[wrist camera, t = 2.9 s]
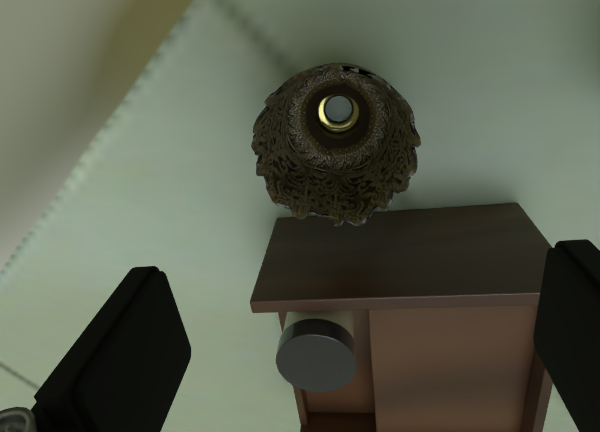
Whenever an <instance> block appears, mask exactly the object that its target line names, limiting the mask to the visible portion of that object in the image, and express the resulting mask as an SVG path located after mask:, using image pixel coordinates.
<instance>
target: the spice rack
mask: <svg viewBox="0 0 600 432" xmlns="http://www.w3.org/2000/svg"><path fill="white" fill-rule="evenodd" d="M549 248H552V246H551V245H550V244H549V243H548V241H547V240H546V239H545V237H544V236H543V235H542V233H541V232H540V231H539V230H538V228H537V227H536V226H535V224H534V223H533V222H532V220H531V219H530V218H529V217H528V215H527V214H526V213H525V211H524V210H523V209H522V208H521V206H520V205H519V204H518V203H514V204H498V205H483V206H467V207H451V208H435V209H419V210H404V211H388V212H373V214H372V216H371V217H370V218H369V219H368V220H367V222H366V223H364V224H362V225H360V226H355V225H353V224H351V223H349V222H347V221H345V220H344V222H343V223H342V225H340V226H333V224H332V221H331V220H330V219H329V217H325V216H324V217H318V216H309V217H305V218H304V219H298V218H296V217H293V218H278V219H277V220H276V223H275V226H274V229H273V232H272V235H271V238H270V241H269V244H268V247H267V250H266V253H265V257H264V260H263V263H262V266H261V269H260V272H259V275H258V278H257V281H256V284H255V287H254V290H253V294H252V297H251V300H250V305H251V309H252V312H253V313H265V312H278V313H279V318H280V323H281V328H282V333H283V329H284V324H285V319H286V314H287V312H302V311H338V310H354V337H355V343H356V350H357V368H356V372H355V375H354V377H353V378H352V379H351V381H350V382H349V383H347V384H346V385H345V386H343V387H341V388H339V389H336V390H333V391H327V392H313V391H308V390H304V389H301V388H298V387H296V386H294V385H293V388H294V393H295V398H296V403H297V408H298V413H299V418H300V423H301V429H300V432H542V431H543V426H544V422H545V417H546V412H547V408H548V403H549V399H550V394H551V390H552V385H553V381H552V380H551V378H550V376H549V374H548V372H547V370H546V368H545V366H544V365H543V363H542V361H541V359H540V357H539V355H538V353H537V351H536V349H535V346H534V341H533V334H534V328H535V322H536V316H537V309H538V303H539V297H540V291H541V285H542V279H543V273H544V267H545V261H546V255H547V251H548V249H549Z"/></svg>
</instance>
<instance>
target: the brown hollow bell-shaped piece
mask: <svg viewBox="0 0 600 432" xmlns="http://www.w3.org/2000/svg"><path fill="white" fill-rule="evenodd" d="M335 96H343V97H345V98H347V99H348V100H349V101H350V103H351V105H352V114H351V116H350V117H349V119H347V120H346V121H344V122H342V123H335V122H332V121H331V120H329V119H328V117H327V116H326V113H325V107H326V104H327V102H328V101H329V100H330V99H331V98H333V97H335ZM264 103H265V104H266V107H265V109H264V110H263V111H262V112H261V113H260V115H259V116H258V118H257V120H256V122H255V124H254V127H253V133H255V134H254V136H253V142H252V145H251V147H252V149H253V151H254V152H255V155H258V156H259V157H258V161H257V163H256V174H257V176H264V179H265V181H266V189H267V191H268V193H269V195H270V197H271V199H272V201H273V202H274V203H275V204H276V205H278V206H282V207H285V208H287V209H291V213H292V215H293V216H295V217H296V218H298V219H304V218H305V216H306V215H307V214H308V213H309V212H310V213H314V214H316V215H317V216H318V217H324V216H325V217H329V219H330V220H331V221H332V224H333V226H340V225H342V223H343V222H344V220H345V221H347V222H349V223H351V224H353V225H355V226H360V225H362V224H364V223H366V222H367V220H368V219H369V218H370V217H371V216H372V214H373V212H374V211H375V210H376V209H377V208H381V210H384V211H388V210H389V208H390V206H391V204H392V202H393V201H392V196H393V192H395V193H400V192H403V191H405V190H407V188H408V186H409V179H410V178H411V177H410V176H412V175H413V174H414V173H416V170H417V155H416V151H415V146H416V147H417V148H418V146H420V145H421V141H420V136H419V135H418V133H417V131H416V129H415V125H414V115H413V111H412V109H411V107H410V106H409V104H408V103H407V102H406V100H405V99H404V98H403V97H402V96H401V95H400V94H399V93H398V92H397V91H396V90H395V89H394V88H393V87H392V86H391V85H390V84H389V83H388V82H386V81H385V80H384V79H382V78H381V77H379V76H377V75H376V74H374V73H372V72H371V71H369V70H367V69H365V68H362V67H359V66H356V65H352V64H346V63H330V64H324V65H320V66H316V67H314V68H311V69H308V70H306V71H303V72H301V73H298V74H296V75H295V76H293V77H292V78H290V79H289V80H287V81H286V82H285V83H283V85H282V86H281V87H280V88H279V89H278V90H277V91H275V92H273V93H272V94H271V95H270V96H269V97H268V98H267V99H266V101H265V102H264Z"/></svg>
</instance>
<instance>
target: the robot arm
mask: <svg viewBox="0 0 600 432" xmlns="http://www.w3.org/2000/svg"><path fill="white" fill-rule="evenodd" d="M533 341H534V346H535V349H536V351H537V353H538V355H539V357H540V359H541V361H542V363H543V365H544V366H545V368H546V370H547V372H548V374H549V376H550V378H551V380H552V381H553V383H554V385H555V387H556V389H557V391H558V393H559V395H560V396H561V398H562V400H563V402H564V404H565V406H566V408H567V409H568V411H569V413H570V415H571V417H572V419H573V421H574V423H575V424H576V426H577V428H578V430H579V432H600V251H599V250H598V249H597V248H596V247H595V246H594V245H593V244H592V243H591V242H590V241H589V240H585V239H584V240H568V241H559V242H557V243H556V245H555V248H549V249H548V251H547V255H546V261H545V267H544V273H543V279H542V285H541V291H540V297H539V303H538V309H537V316H536V322H535V328H534V334H533ZM190 358H191V346H190V343H189V340H188V337H187V334H186V332H185V329H184V326H183V323H182V320H181V317H180V314H179V311H178V308H177V305H176V303H175V300H174V297H173V294H172V291H171V288H170V285H169V282H168V279H167V276H166V274H165V273H164V272H163V271H159V269H158V268H157V267H155V266H148V267H135V268H132V269H131V270H130V271H129V272H128V274H127V275H126V276H125V278H124V279H123V280H122V282H121V283H120V284H119V286H118V287H117V288H116V289H115V291H114V292H113V293H112V295H111V296H110V297H109V299H108V300H107V301H106V303H105V304H104V305H103V307H102V308H101V309H100V310H99V312H98V313H97V314H96V316H95V317H94V318H93V320H92V321H91V322H90V324H89V325H88V326H87V327H86V329H85V330H84V331H83V333H82V334H81V335H80V337H79V338H78V339H77V341H76V342H75V343H74V344H73V346H72V347H71V348H70V350H69V351H68V352H67V354H66V355H65V356H64V358H63V359H62V360H61V361H60V363H59V364H58V365H57V367H56V368H55V369H54V371H53V372H52V373H51V375H50V376H49V377H48V379H47V380H46V381H45V382H44V384H43V385H42V386H41V388H40V389H39V390H38V392H37V393H36V394H35V396H34V398H35V399H36V401H37V402H36V404H35V405H34V406H33V408H32V409H31V410H29V409H27V408H24V407H14V408H9V409H5V410H2V411H0V432H160V431H161V429H162V426H163V424H164V422H165V419H166V417H167V414H168V412H169V410H170V407H171V405H172V402H173V400H174V398H175V395H176V393H177V390H178V388H179V386H180V383H181V381H182V378H183V376H184V374H185V371H186V369H187V366H188V364H189V361H190Z"/></svg>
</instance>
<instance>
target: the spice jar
mask: <svg viewBox="0 0 600 432" xmlns="http://www.w3.org/2000/svg"><path fill="white" fill-rule="evenodd" d="M276 365H277V368H278V370H279V372H280V374H281V375H282V376H283V377H284V378H285V379H286V380H287V381H288V382H289V383H291V384H292V385H294V386H296V387H298V388H301V389H304V390H308V391H313V392H327V391H333V390H336V389H339V388H341V387H343V386H345V385H346V384H347V383H349V382H350V381H351V379H352V378H353V377H354V375H355V372H356V368H357V350H356V343H355V337H354V310H338V311H302V312H287V314H286V319H285V324H284V329H283V333H282V335H281V337H280V340H279V345H278V350H277V355H276Z"/></svg>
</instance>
